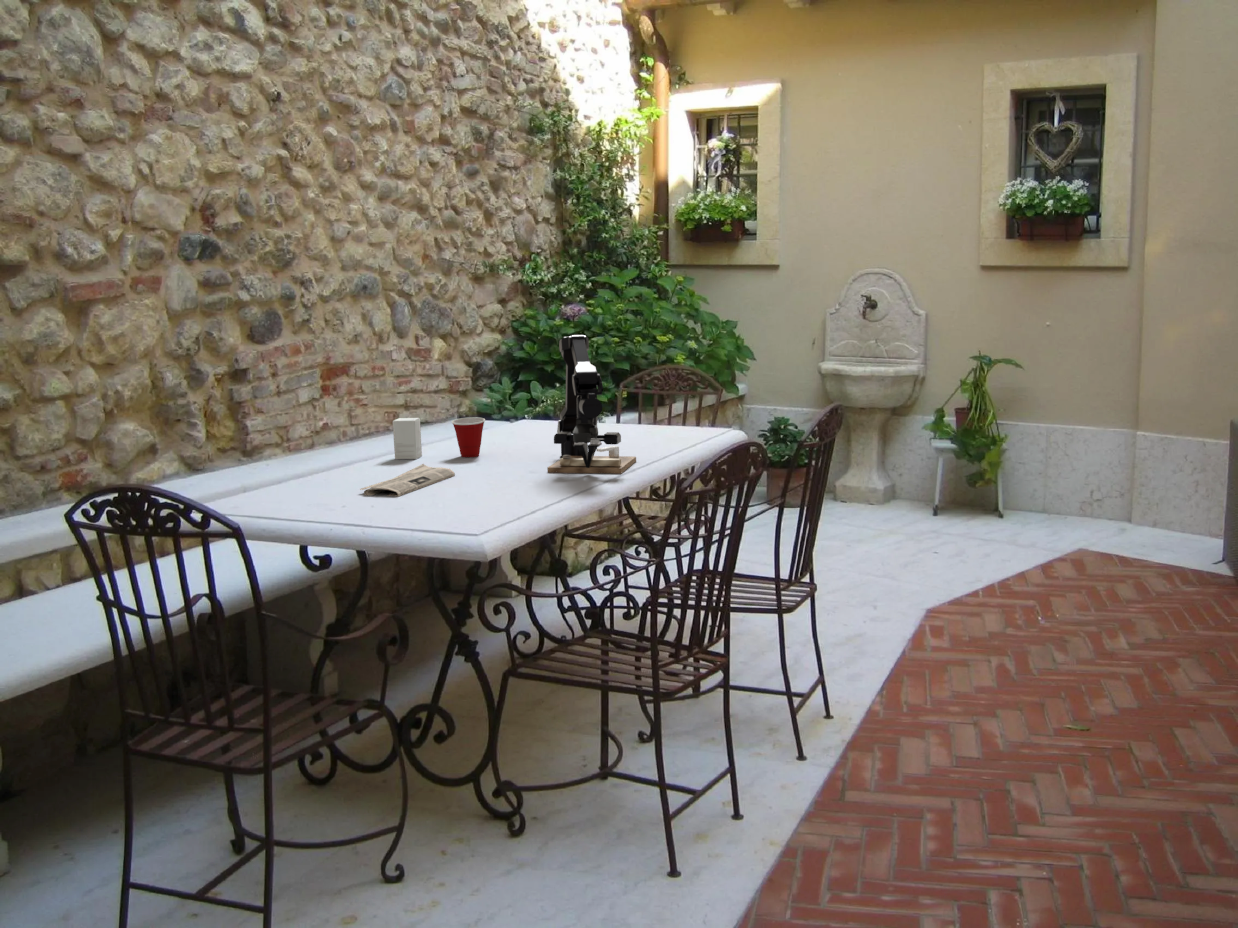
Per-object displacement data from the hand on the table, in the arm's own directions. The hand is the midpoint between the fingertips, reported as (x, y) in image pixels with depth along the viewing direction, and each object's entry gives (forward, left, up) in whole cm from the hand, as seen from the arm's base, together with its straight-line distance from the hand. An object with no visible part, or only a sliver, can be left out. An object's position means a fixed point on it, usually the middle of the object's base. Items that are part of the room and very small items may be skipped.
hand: (588, 467), depth 341 cm
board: (-2, +13, -2) cm, 13 cm away
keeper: (+2, +20, 0) cm, 20 cm away
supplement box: (-66, +26, -2) cm, 71 cm away
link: (-1, +5, 0) cm, 5 cm away
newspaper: (-46, -22, -3) cm, 51 cm away
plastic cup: (-47, +31, -2) cm, 56 cm away
